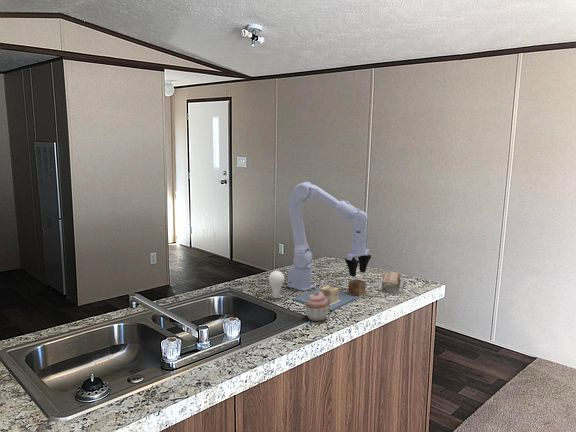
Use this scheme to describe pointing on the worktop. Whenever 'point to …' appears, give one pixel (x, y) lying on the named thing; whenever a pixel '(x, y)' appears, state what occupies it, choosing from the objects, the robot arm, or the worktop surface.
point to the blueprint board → (342, 301)
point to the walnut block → (357, 287)
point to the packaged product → (391, 283)
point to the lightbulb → (276, 283)
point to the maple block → (330, 293)
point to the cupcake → (317, 306)
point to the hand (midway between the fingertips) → (357, 274)
